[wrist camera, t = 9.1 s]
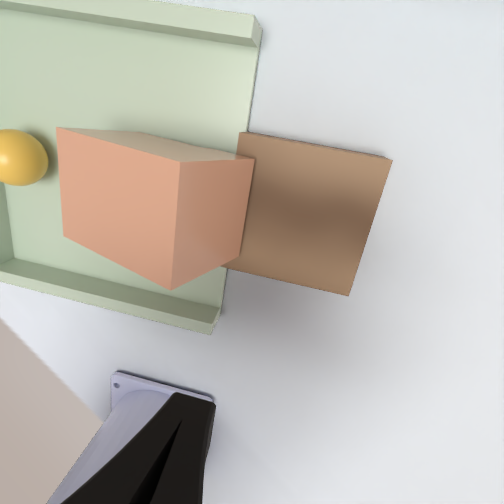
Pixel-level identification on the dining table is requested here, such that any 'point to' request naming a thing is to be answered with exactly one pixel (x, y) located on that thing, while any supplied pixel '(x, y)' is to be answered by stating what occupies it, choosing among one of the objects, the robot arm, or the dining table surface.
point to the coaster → (308, 211)
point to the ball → (21, 158)
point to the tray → (116, 128)
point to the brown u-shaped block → (152, 201)
